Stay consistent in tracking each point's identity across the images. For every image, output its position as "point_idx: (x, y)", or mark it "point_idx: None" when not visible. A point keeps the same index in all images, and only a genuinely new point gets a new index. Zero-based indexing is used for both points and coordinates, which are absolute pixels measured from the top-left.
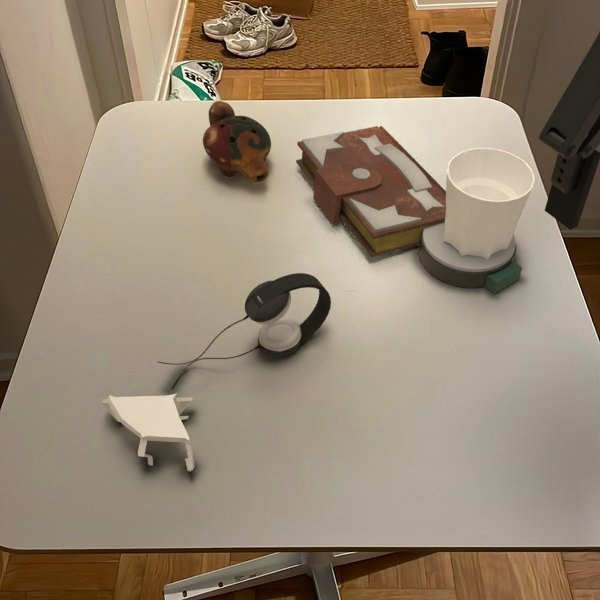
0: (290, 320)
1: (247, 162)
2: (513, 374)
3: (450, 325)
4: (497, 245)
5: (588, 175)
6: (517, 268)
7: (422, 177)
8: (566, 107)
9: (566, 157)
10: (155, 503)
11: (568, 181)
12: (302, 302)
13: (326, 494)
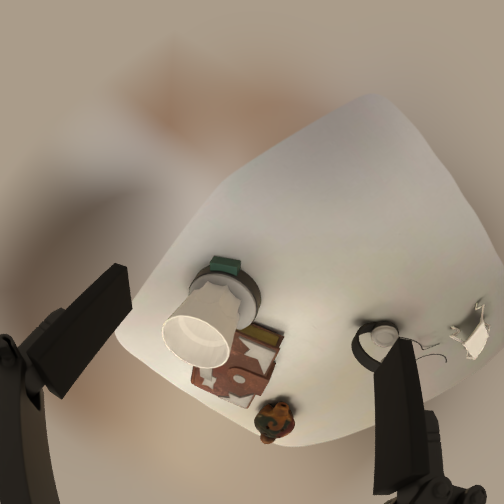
0: (373, 340)
1: (284, 416)
2: (295, 207)
3: (290, 266)
4: (215, 289)
5: (425, 435)
6: (213, 264)
7: None
8: None
9: (481, 487)
10: (496, 300)
11: (436, 432)
12: (344, 340)
13: (458, 242)
